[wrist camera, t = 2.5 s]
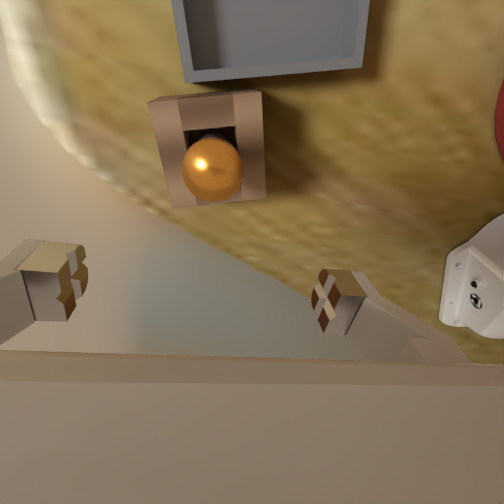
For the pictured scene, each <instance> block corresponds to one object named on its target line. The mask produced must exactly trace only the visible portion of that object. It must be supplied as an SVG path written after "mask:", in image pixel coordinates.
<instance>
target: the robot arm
mask: <svg viewBox="0 0 504 504" xmlns="http://www.w3.org/2000/svg"><path fill="white" fill-rule="evenodd" d="M85 257H86V254H85V248H84V247H83V246H82V245H78V244H69V243H61V242H52V241H44V240H33V239H28V240H24V241H23V242H22V243H21V244H20V245H18V246H17V247H16V248H15V249H14V250H13V251H11V252H10V253H9V254H8V255H7V256H6V257H5V258H3V259H2V260H1V261H0V345H1V344H3V343H4V342H6V341H7V340H9V339H10V338H12V337H13V336H15V335H16V334H18V333H19V332H21V331H22V330H24V329H25V328H27V327H28V326H30V325H31V324H33V323H34V322H35V321H66V322H67V321H68V319H69V317H70V316H71V314H72V312H73V311H74V309H75V307H76V301H75V300H76V299H78V298H80V297H82V295H83V294H84V292H85V290H86V287H87V283H88V268H87V267H86V266H85V265H84V264H83V263H82V262H83V260H84V259H85ZM318 280H319V282H320V283H318V284H317V285H316V286H314V288H313V291H312V295H311V303H312V308H313V310H314V312H316V313H317V314H318V315H319V318H318V322H319V324H320V327H321V329H322V331H323V334H332V335H345V337H346V338H347V339H348V340H349V341H350V342H351V343H352V344H353V345H354V346H355V347H356V348H357V349H359V351H361V352H362V353H363V354H364V355H365V356H366V357H367V358H368V359H369V360H370V361H356V360H355V361H354V360H322V359H321V360H320V359H289V358H255V357H219V356H217V357H215V356H183V355H146V354H111V353H77V352H44V351H43V352H42V351H41V352H40V351H9V350H0V504H504V365H498V364H473V363H472V362H471V361H470V360H469V358H468V357H467V356H466V355H465V354H464V353H463V352H462V351H461V349H460V348H459V347H458V346H457V345H456V344H455V343H454V342H453V340H452V339H451V338H449V337H448V336H446V335H445V334H443V333H441V332H440V331H438V330H436V329H435V328H433V327H431V326H430V325H428V324H427V323H425V322H423V321H422V320H420V319H418V318H417V317H415V316H413V315H412V314H410V313H409V312H407V311H405V310H404V309H402V308H400V307H399V306H397V305H395V304H394V303H392V302H391V301H389V300H387V299H382V297H381V296H380V295H379V293H378V292H377V291H376V289H375V288H374V287H373V285H372V284H371V283H370V281H369V280H368V279H367V277H366V276H365V275H364V273H362V272H361V271H351V270H334V269H322V270H321V271H320V273H319V275H318ZM439 320H440V321H441V322H443V323H444V324H447V325H450V326H457V327H465V326H468V327H469V328H470V329H471V330H473V331H474V332H476V333H477V334H479V335H481V336H484V337H487V338H493V339H504V214H502V215H500V216H499V217H497V218H495V219H494V220H492V221H491V222H490V223H488V224H487V225H486V226H484V227H483V228H482V229H481V230H480V231H479V232H478V233H477V234H476V235H475V236H474V237H472V238H471V239H470V240H469V241H467V242H466V243H464V244H462V245H460V246H459V247H457V248H455V249H454V250H453V251H451V252H450V253H449V255H448V256H447V262H446V269H445V276H444V283H443V290H442V298H441V305H440V312H439Z"/></svg>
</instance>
